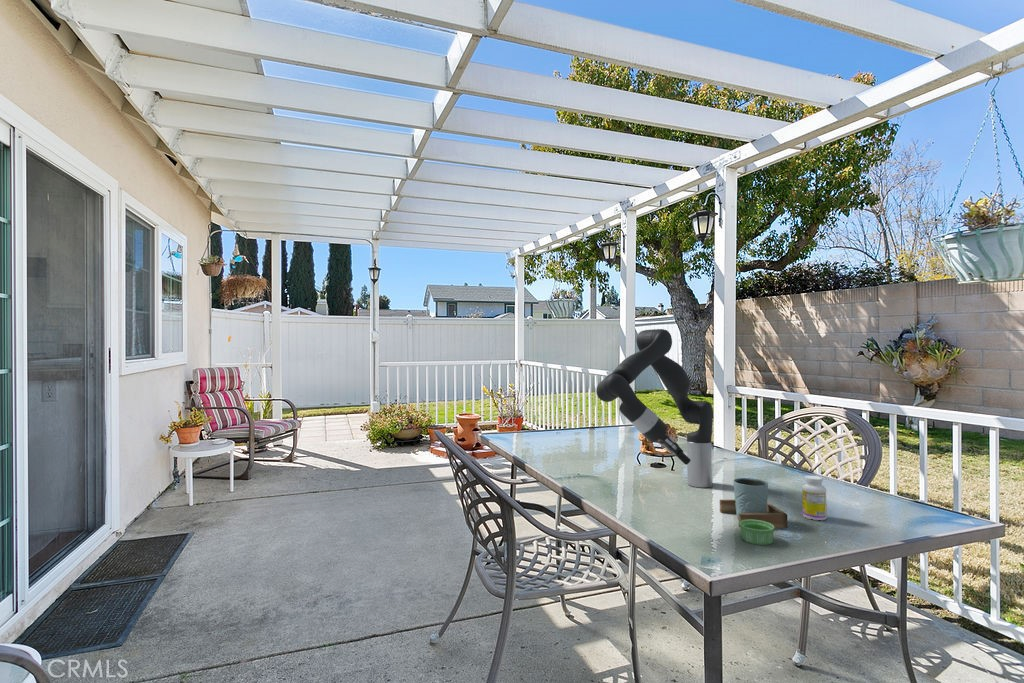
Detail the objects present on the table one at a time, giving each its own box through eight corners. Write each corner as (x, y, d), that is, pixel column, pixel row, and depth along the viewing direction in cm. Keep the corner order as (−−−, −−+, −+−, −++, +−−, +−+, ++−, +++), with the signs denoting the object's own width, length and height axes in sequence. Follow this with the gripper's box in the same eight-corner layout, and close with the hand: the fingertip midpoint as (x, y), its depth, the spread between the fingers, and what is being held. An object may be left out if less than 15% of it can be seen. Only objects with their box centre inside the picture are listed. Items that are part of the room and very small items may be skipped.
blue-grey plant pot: (750, 526, 155) (750, 487, 155) (726, 516, 164) (725, 479, 164) (776, 522, 158) (775, 483, 158) (750, 512, 168) (750, 476, 168)
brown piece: (719, 511, 169) (719, 499, 169) (762, 511, 169) (762, 499, 169) (740, 528, 154) (740, 514, 154) (787, 527, 154) (787, 514, 154)
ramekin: (749, 532, 151) (749, 517, 151) (780, 541, 143) (780, 525, 143) (733, 539, 145) (733, 523, 145) (764, 548, 138) (764, 532, 138)
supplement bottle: (806, 512, 167) (805, 473, 167) (829, 517, 162) (828, 477, 162) (799, 517, 162) (799, 477, 162) (823, 522, 157) (822, 481, 158)
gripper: (663, 418, 155) (704, 458, 155) (651, 413, 168) (688, 449, 168) (646, 436, 155) (686, 476, 155) (635, 429, 168) (673, 465, 168)
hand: (687, 462), depth 161 cm, fingers closed
